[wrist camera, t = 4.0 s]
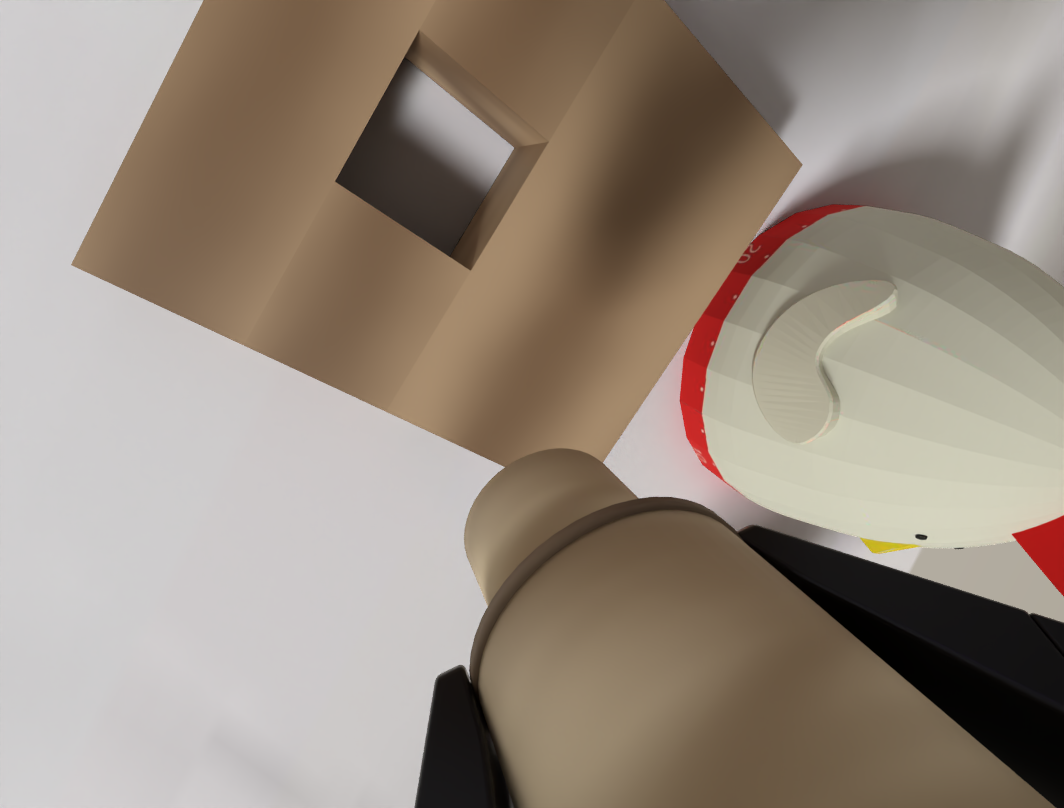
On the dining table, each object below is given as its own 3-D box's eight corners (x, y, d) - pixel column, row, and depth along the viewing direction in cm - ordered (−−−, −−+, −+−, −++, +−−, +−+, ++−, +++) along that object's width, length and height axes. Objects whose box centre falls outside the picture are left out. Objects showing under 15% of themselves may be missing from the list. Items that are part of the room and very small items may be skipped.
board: (742, 166, 21) (802, 164, 19) (547, 464, 23) (577, 500, 20) (363, -241, 14) (375, -343, 11) (112, 250, 15) (71, 264, 13)
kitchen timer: (630, 456, 24) (992, 768, 11) (775, 147, 22) (1483, 92, 8) (824, 508, 31) (1202, 749, 18) (957, 273, 28) (1530, 354, 15)
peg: (632, 381, 10) (1345, 844, 3) (657, 561, 12) (1123, 1080, 5) (394, 471, 9) (685, 1458, 2) (465, 652, 11) (731, 1449, 4)
